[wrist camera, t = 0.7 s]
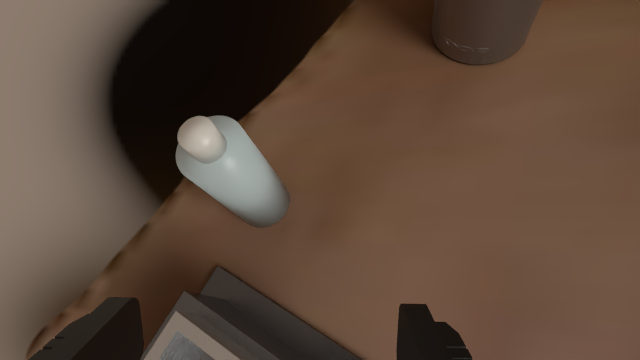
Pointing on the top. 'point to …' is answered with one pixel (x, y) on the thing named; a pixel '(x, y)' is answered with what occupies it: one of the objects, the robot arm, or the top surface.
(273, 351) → the grey socket base
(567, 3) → the top surface
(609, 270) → the top surface
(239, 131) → the bottle
